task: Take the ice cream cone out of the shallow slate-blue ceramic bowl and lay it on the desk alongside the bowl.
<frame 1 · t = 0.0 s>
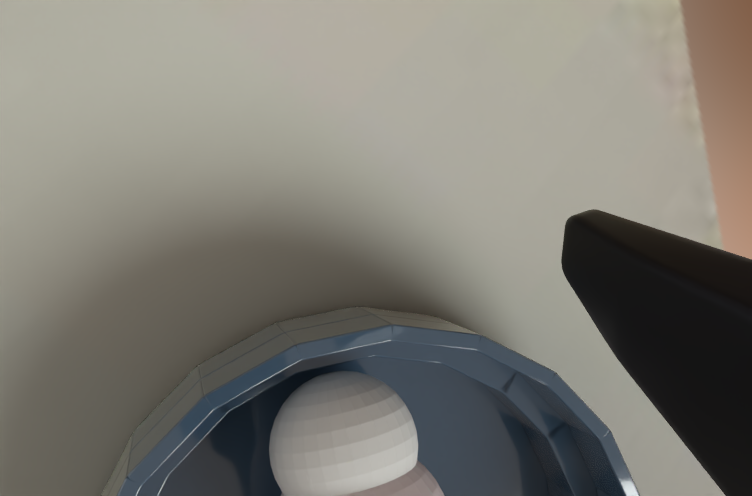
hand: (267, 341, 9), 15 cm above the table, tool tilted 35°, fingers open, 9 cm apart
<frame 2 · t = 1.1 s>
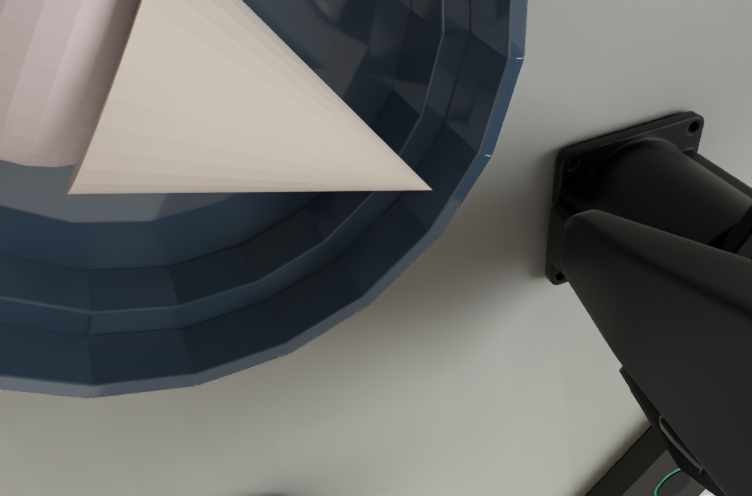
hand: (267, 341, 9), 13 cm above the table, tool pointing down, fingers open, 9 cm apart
bowl: (136, 20, 19), on the table
ice cream cone: (137, 23, 18), resting on bowl
smart home device: (655, 461, 46), on the table
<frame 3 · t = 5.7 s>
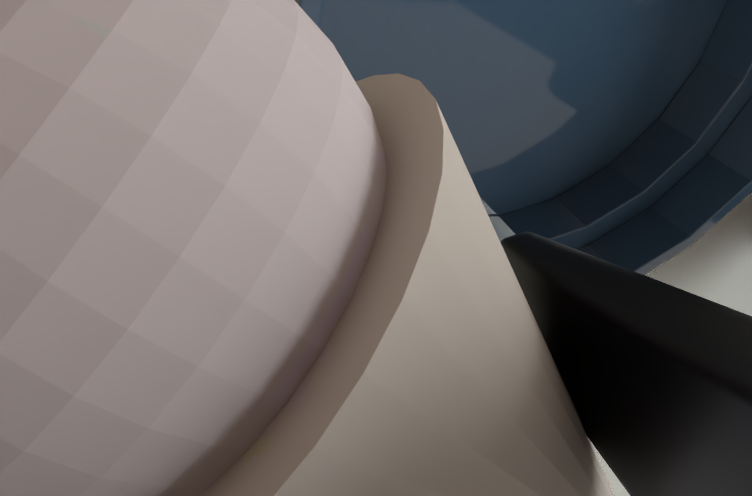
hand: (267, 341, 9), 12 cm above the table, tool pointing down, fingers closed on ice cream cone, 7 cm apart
ice cream cone: (249, 186, 11), point 10 cm above the table, touching gripper
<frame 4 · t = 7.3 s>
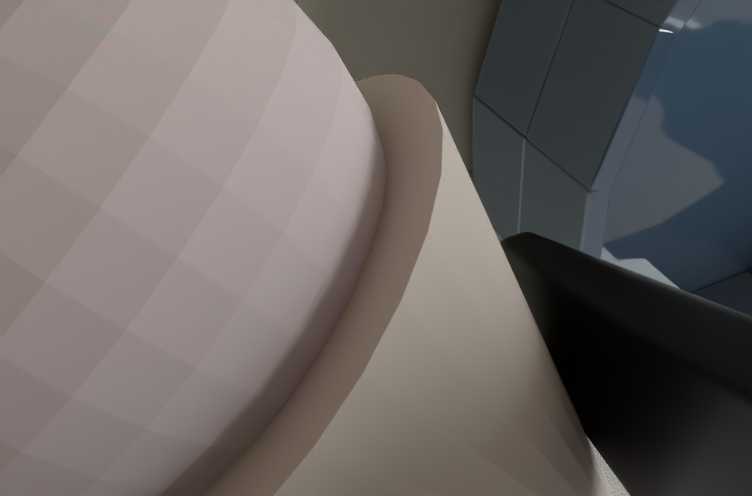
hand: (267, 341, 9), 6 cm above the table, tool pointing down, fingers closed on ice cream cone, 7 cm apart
ice cream cone: (248, 187, 11), point 4 cm above the table, touching gripper
when the fingers open (3 cm above the table, at t = 8.6 s): ice cream cone stays where it is, on the table.
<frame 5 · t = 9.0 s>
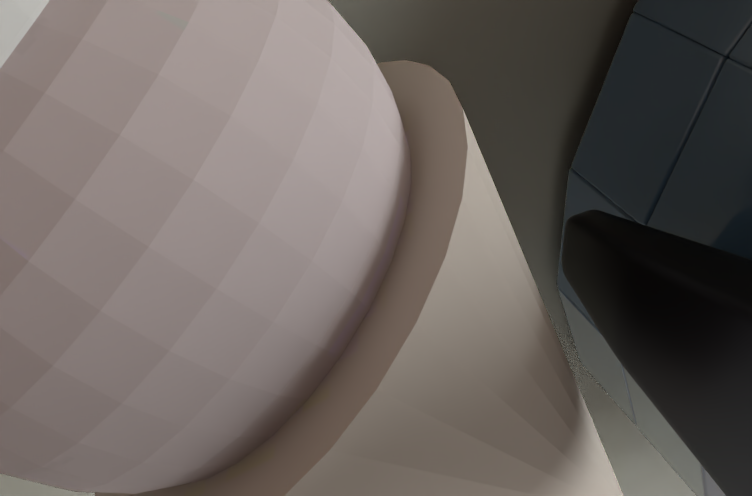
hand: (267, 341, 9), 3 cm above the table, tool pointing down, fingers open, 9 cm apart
ice cream cone: (251, 172, 11), on the table
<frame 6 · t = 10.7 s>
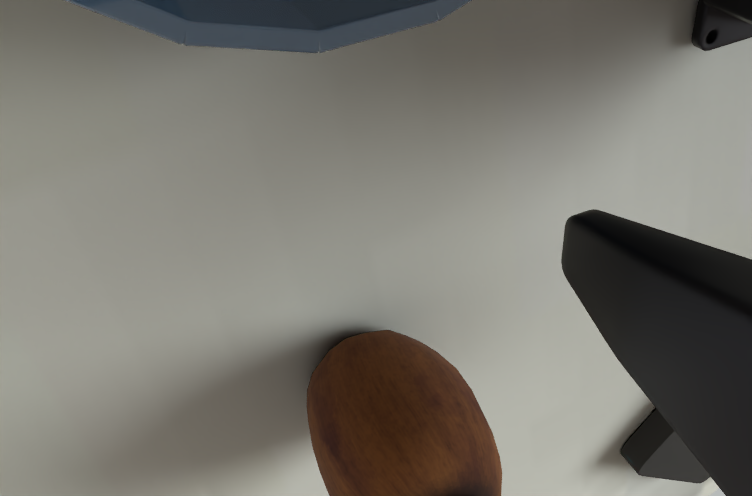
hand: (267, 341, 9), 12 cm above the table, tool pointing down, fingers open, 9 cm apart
wooden figurine: (356, 367, 28), on the table
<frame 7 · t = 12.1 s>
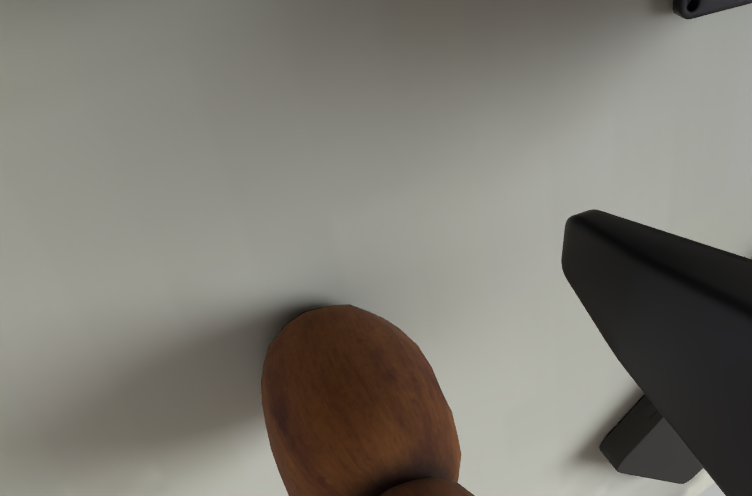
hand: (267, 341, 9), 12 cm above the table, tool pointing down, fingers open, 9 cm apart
wooden figurine: (317, 344, 27), on the table
smart home device: (751, 327, 39), on the table
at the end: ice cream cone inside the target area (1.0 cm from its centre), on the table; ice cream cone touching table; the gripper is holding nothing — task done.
